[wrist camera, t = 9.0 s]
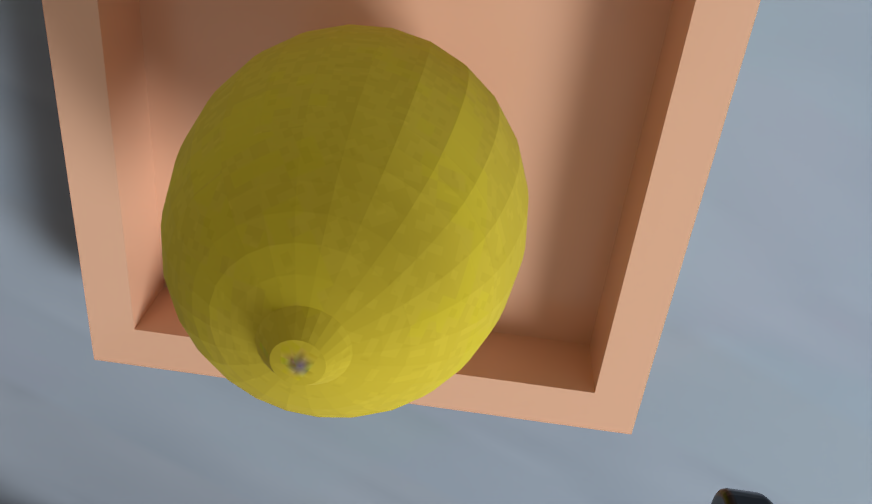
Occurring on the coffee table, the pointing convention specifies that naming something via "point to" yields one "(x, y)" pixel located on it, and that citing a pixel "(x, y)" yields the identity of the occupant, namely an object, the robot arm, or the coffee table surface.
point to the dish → (528, 118)
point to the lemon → (345, 221)
